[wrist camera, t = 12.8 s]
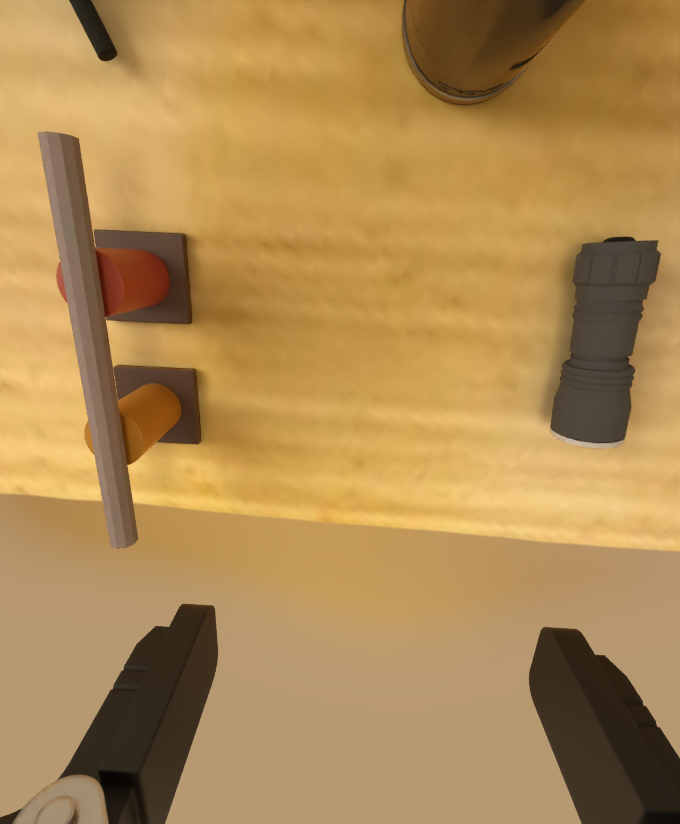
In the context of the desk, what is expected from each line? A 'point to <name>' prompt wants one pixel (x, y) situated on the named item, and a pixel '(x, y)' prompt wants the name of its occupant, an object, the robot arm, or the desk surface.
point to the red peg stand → (142, 276)
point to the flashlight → (603, 341)
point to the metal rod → (89, 328)
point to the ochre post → (155, 408)
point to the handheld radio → (94, 29)
